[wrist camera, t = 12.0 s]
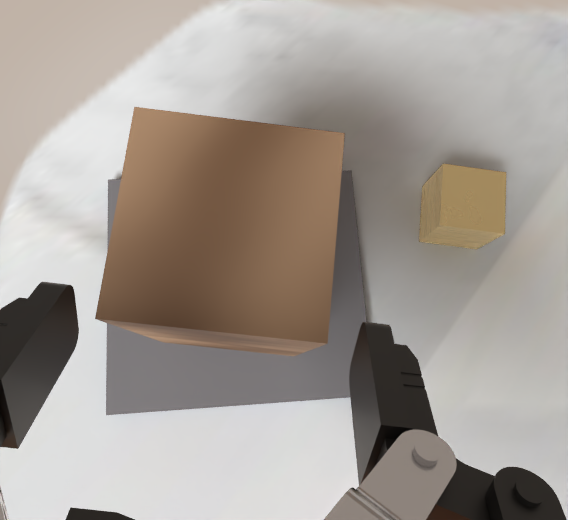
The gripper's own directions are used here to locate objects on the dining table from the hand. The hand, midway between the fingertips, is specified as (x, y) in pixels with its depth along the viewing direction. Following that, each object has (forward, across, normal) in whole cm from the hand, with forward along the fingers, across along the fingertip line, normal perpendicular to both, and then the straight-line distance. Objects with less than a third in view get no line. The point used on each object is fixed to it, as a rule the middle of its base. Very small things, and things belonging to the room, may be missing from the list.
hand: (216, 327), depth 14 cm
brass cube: (+13, -10, +2) cm, 16 cm away
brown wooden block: (+9, 0, +5) cm, 10 cm away
